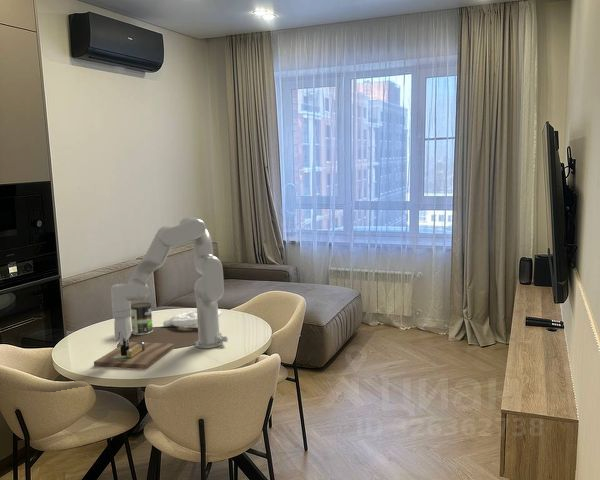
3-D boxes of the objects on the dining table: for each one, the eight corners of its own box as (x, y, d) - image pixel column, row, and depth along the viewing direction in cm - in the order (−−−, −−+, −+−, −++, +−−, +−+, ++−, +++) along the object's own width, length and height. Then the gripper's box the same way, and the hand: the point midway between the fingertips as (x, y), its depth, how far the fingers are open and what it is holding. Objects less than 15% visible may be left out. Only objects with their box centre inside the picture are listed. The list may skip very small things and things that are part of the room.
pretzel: (160, 331, 272) (158, 319, 272) (185, 320, 295) (183, 309, 294) (207, 328, 263) (205, 315, 262) (229, 317, 285) (227, 305, 284)
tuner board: (174, 348, 241) (174, 343, 241) (146, 369, 216) (145, 364, 216) (127, 345, 247) (127, 341, 246) (94, 366, 222) (93, 361, 221)
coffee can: (156, 329, 272) (154, 302, 270) (147, 335, 262) (144, 307, 260) (138, 328, 274) (136, 302, 272) (128, 334, 264) (125, 307, 262)
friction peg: (140, 348, 236) (139, 340, 235) (146, 348, 235) (145, 340, 234) (125, 358, 223) (124, 350, 223) (131, 358, 223) (131, 350, 222)
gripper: (117, 309, 230) (120, 349, 232) (108, 318, 215) (111, 361, 218) (134, 308, 231) (137, 348, 233) (127, 317, 216) (130, 360, 218)
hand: (125, 355), depth 225 cm, fingers closed
